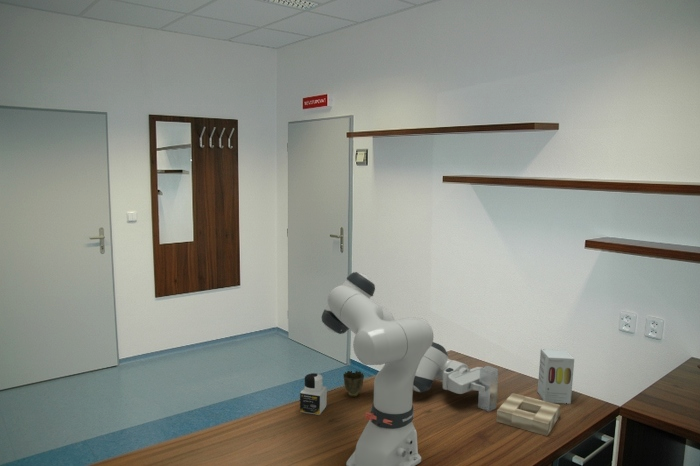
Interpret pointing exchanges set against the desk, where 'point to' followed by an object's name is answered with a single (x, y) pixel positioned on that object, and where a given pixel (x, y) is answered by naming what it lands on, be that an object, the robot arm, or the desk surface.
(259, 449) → the desk surface
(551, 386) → the supplement box
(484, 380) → the steel peg
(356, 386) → the cup
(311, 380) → the medicine bottle
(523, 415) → the square nut
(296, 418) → the desk surface
